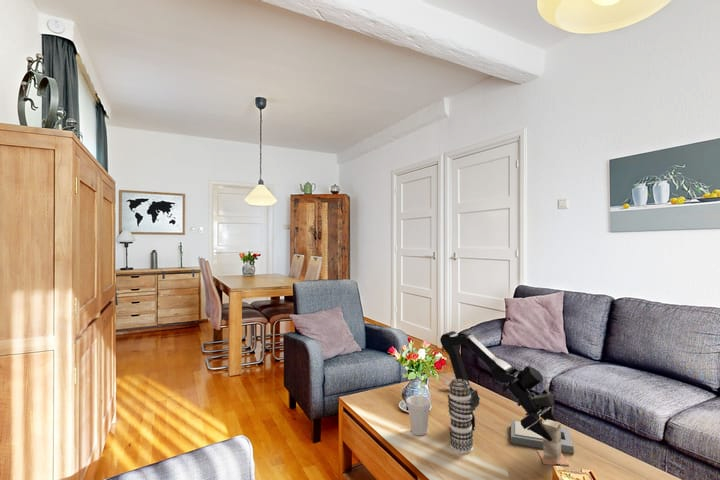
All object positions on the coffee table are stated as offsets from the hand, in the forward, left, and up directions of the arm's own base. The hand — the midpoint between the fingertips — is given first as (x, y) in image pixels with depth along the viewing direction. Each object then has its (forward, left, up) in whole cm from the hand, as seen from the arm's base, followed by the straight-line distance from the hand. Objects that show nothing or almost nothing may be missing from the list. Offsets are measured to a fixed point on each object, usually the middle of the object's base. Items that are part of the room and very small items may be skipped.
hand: (555, 435), depth 131 cm
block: (-1, +1, -8) cm, 8 cm away
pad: (-1, +1, -9) cm, 9 cm away
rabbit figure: (-29, +56, -9) cm, 64 cm away
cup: (-48, +13, -9) cm, 50 cm away
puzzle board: (-1, +14, -9) cm, 16 cm away
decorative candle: (-32, +4, -9) cm, 33 cm away
